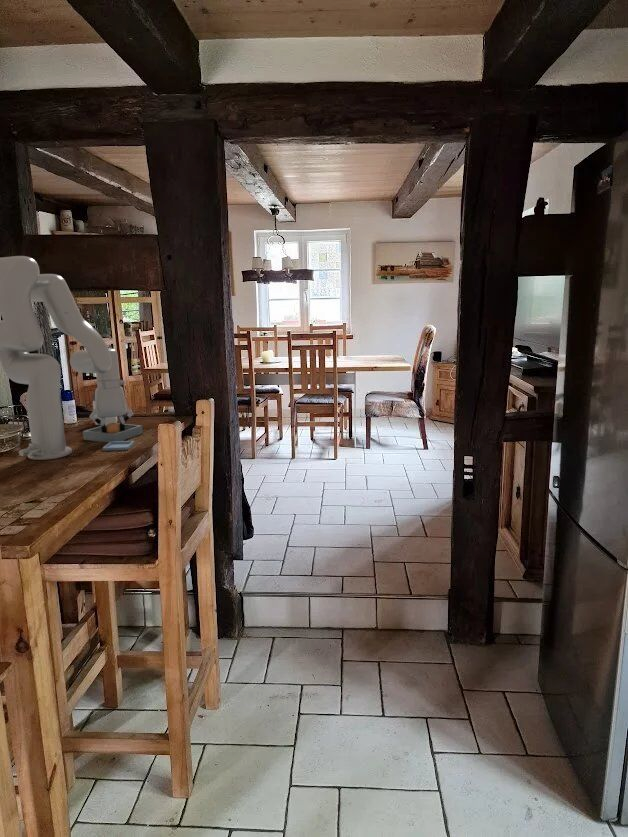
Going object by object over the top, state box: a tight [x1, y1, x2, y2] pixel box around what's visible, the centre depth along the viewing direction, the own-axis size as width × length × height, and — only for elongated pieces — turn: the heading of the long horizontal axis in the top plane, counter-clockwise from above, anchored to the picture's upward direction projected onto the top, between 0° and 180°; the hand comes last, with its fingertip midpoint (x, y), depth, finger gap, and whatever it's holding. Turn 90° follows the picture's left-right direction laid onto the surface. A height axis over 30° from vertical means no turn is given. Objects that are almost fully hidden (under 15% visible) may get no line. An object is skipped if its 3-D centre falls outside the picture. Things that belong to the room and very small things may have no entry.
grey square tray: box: [82, 422, 144, 443], centre depth 197 cm, size 14×14×3 cm
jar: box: [91, 392, 118, 426], centre depth 218 cm, size 9×8×12 cm
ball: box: [106, 422, 121, 434], centre depth 197 cm, size 5×5×5 cm
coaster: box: [102, 440, 136, 452], centre depth 183 cm, size 8×8×1 cm
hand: (113, 434), depth 197 cm, fingers closed on ball, 4 cm apart
